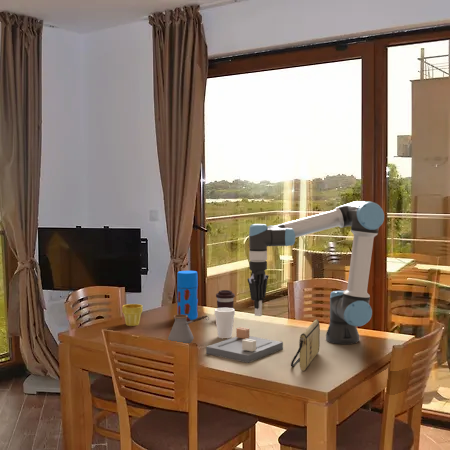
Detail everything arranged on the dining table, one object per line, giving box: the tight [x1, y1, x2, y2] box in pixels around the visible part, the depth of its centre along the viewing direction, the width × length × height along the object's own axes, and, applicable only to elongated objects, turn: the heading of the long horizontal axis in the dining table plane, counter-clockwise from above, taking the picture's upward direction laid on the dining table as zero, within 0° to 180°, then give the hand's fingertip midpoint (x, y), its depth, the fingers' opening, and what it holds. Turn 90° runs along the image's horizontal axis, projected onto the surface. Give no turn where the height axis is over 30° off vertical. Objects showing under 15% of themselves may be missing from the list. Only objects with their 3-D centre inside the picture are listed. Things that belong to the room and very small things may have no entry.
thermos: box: [176, 270, 199, 321], centre depth 329 cm, size 11×11×25 cm
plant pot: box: [121, 303, 144, 327], centre depth 315 cm, size 10×10×10 cm
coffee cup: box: [215, 289, 236, 309], centre depth 328 cm, size 10×10×15 cm
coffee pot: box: [167, 314, 210, 344], centre depth 274 cm, size 21×12×15 cm, turn 54°
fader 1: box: [235, 326, 250, 339], centre depth 276 cm, size 5×3×4 cm, turn 52°
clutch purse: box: [290, 318, 321, 372], centre depth 250 cm, size 30×7×15 cm, turn 160°
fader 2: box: [242, 339, 256, 351], centre depth 256 cm, size 5×3×4 cm, turn 52°
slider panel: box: [205, 335, 284, 364], centre depth 266 cm, size 22×26×3 cm
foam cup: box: [214, 307, 236, 339], centre depth 290 cm, size 10×9×13 cm
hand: (258, 315), depth 262 cm, fingers closed
